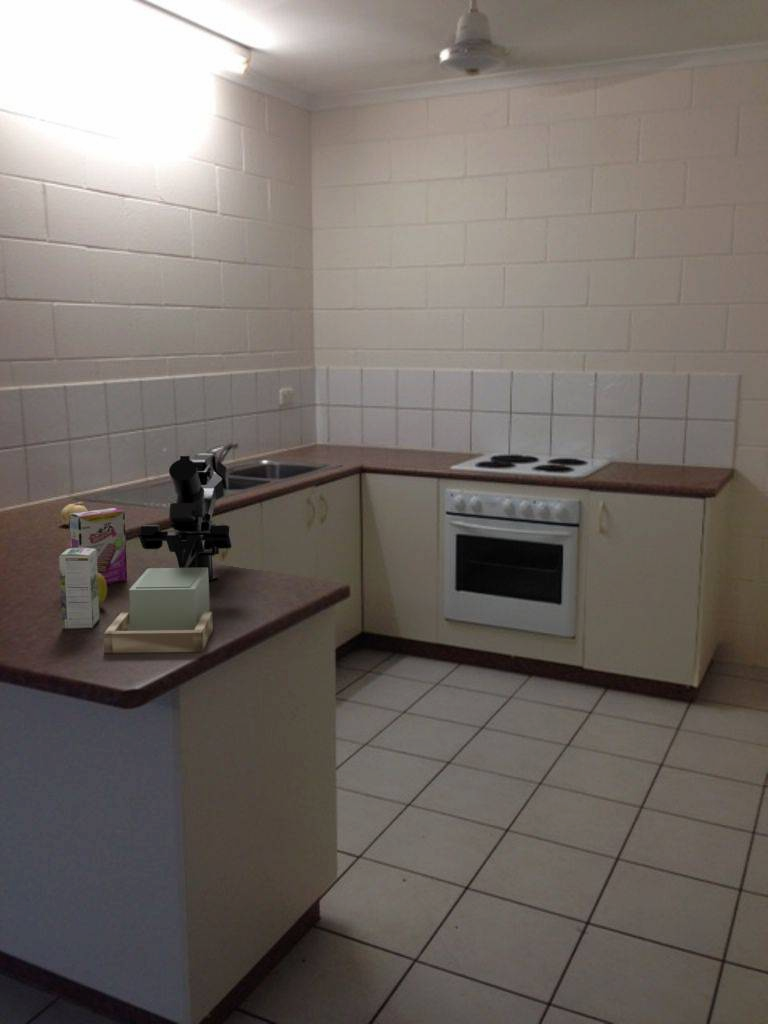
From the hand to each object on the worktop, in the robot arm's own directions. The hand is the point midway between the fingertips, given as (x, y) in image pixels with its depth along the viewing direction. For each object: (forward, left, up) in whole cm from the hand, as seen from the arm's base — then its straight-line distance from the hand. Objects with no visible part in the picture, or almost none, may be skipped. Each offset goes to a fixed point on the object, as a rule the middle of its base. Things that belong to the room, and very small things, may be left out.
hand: (182, 571), depth 188 cm
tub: (+10, +6, -7) cm, 14 cm away
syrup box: (+19, -9, -7) cm, 22 cm away
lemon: (+10, -15, -7) cm, 19 cm away
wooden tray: (+20, +11, -7) cm, 24 cm away
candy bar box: (-5, -28, -7) cm, 29 cm away
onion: (-50, -83, -7) cm, 97 cm away
